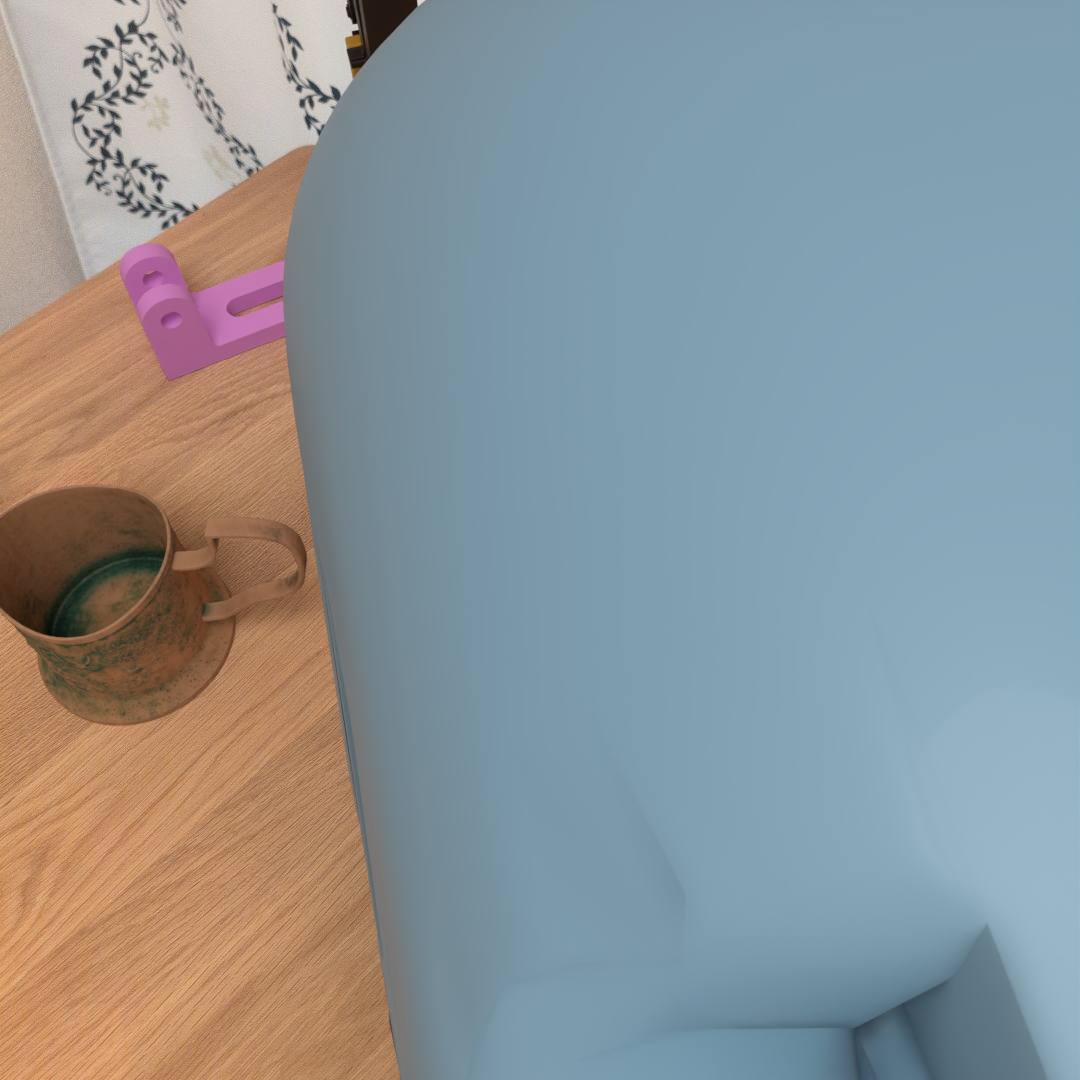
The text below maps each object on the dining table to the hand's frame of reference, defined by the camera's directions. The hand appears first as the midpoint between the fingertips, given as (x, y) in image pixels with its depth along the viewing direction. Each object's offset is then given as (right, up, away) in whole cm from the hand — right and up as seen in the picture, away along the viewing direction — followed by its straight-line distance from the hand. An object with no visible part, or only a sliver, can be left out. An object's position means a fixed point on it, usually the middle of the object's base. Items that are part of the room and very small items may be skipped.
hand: (400, 146), depth 62 cm
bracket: (-13, -6, +20) cm, 25 cm away
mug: (-13, -27, +7) cm, 31 cm away
